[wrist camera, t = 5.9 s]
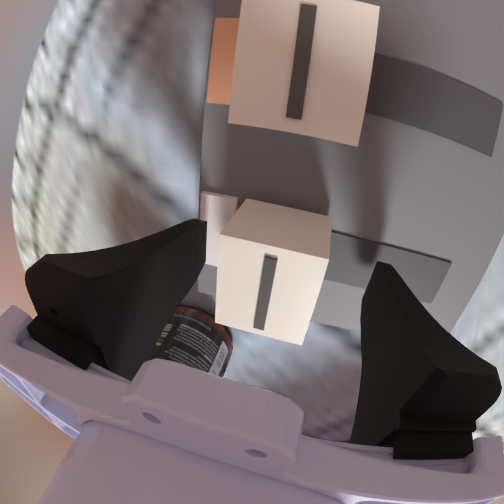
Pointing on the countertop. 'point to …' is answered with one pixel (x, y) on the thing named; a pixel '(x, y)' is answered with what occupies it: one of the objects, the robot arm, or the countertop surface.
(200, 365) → the supplement bottle
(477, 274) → the panel
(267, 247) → the knob
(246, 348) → the countertop surface
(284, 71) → the knob
